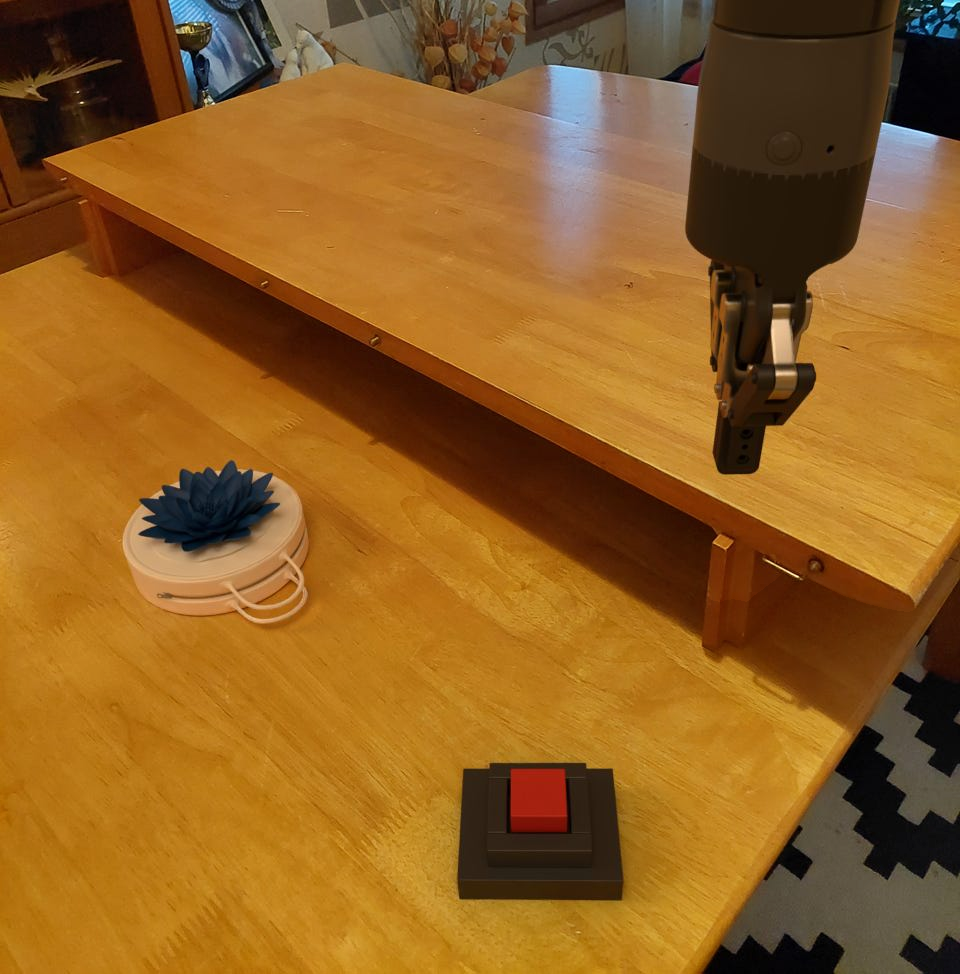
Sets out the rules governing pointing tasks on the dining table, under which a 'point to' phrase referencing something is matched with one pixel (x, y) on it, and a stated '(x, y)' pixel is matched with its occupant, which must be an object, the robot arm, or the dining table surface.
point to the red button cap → (538, 800)
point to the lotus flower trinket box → (218, 543)
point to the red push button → (539, 839)
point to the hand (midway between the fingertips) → (734, 465)
